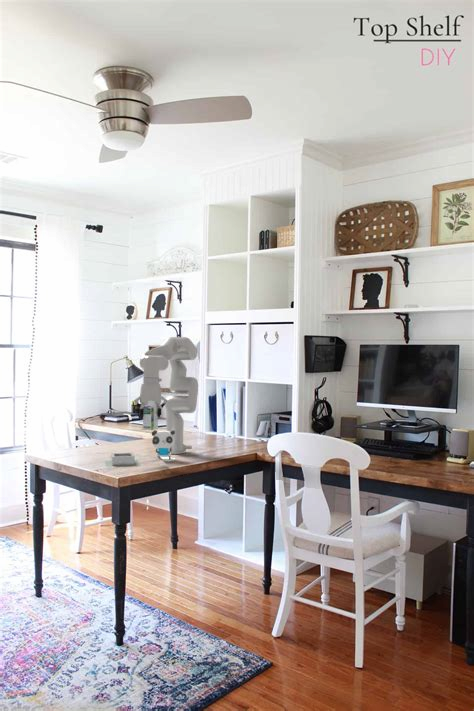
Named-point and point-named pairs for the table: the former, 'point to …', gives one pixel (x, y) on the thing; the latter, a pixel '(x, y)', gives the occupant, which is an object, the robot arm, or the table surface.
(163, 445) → the panda figurine
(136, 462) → the deck plate
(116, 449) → the table surface
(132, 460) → the chute collar
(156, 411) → the syrup box
